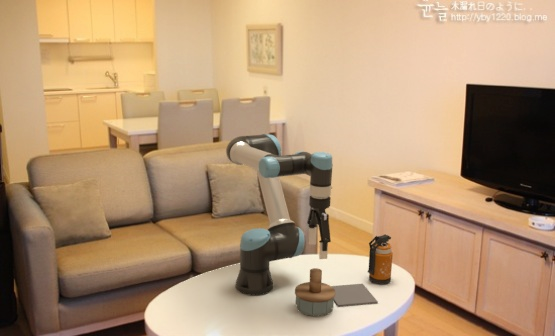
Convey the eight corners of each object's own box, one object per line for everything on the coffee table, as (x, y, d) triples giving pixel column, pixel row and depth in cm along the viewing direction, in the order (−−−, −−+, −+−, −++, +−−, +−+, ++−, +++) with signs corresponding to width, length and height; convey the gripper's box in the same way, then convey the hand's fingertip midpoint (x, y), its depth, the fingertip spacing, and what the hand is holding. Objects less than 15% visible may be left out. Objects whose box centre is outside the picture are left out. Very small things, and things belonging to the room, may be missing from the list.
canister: (395, 281, 235) (398, 236, 230) (375, 288, 229) (378, 241, 224) (379, 274, 242) (383, 230, 237) (360, 279, 236) (363, 235, 231)
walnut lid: (290, 285, 215) (291, 264, 213) (328, 282, 219) (329, 261, 216) (300, 304, 201) (301, 280, 199) (340, 300, 204) (341, 277, 202)
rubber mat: (325, 288, 227) (325, 286, 227) (362, 285, 231) (362, 283, 231) (337, 306, 212) (338, 305, 212) (377, 303, 216) (377, 301, 216)
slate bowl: (293, 301, 216) (293, 286, 215) (325, 298, 219) (326, 284, 217) (302, 317, 204) (302, 302, 202) (336, 314, 206) (337, 299, 205)
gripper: (341, 206, 190) (338, 264, 195) (319, 185, 214) (317, 238, 219) (320, 207, 188) (317, 265, 193) (300, 186, 212) (298, 239, 217)
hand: (317, 251), depth 206 cm, fingers open, 13 cm apart
